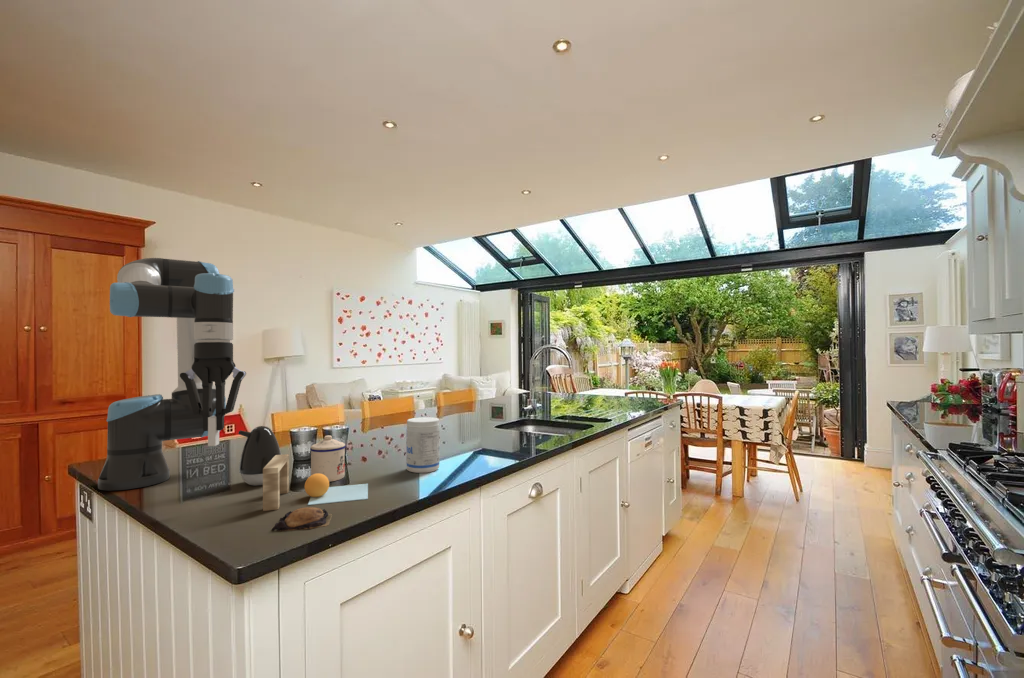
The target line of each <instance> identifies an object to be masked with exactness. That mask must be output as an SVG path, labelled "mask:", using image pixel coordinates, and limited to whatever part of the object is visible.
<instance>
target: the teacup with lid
mask: <svg viewBox="0 0 1024 678" xmlns="http://www.w3.org/2000/svg"><path fill="white" fill-rule="evenodd" d="M345 448H346V443H345V442H342V441H338V440H337V439H334V438H333V437H332V435H329V434H328V435H325V436H324V438H323V439H322V440H319V442H317V443H314V444H312V445H311V446H310V449H309V450H310V476H311V475H313V474H317V473H320V474H323V475H325V476H326V477H327V478H328V480H329V483H330V482H336V481H339V480H342V479H343V478H344V477H345V476H346V475H345V474H346V468H345V467H346V465H345V464H346V461H345V460H346V459H345V457H346V456H345V455H346V453H345V452H346V449H345Z"/></svg>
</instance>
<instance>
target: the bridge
mask: <svg viewBox="0 0 1024 678" xmlns="http://www.w3.org/2000/svg"><path fill="white" fill-rule="evenodd" d="M289 456H290V454H288V453H286V454H285V453H284V454H283V453H282V454H281V455H275V456H274V457H273V458H272V460H271V461H270V462H269V463H268V464H267V465H266V466H265V467H264V468H263V485H262V512H267V511H277V510H279V508H280V505H281V503H280V501H281V499H280V497H281V496H280V495H282V494H283V495H284V494H288V493H289V492H290V477H289V476H290V470H289V469H290V468H289V467H290V458H289Z"/></svg>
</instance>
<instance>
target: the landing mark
mask: <svg viewBox="0 0 1024 678" xmlns="http://www.w3.org/2000/svg"><path fill="white" fill-rule="evenodd" d="M368 499H369V483H362V484H361V483H360V484H359V483H358V484H347V485H338V486H336V485H335V486H329V488H328V490H327V492H326V493H325V494H324V495H322V496H320V497H311V496H310V498H309V501H308V503H307V506H313V505H315V506H316V505H325V504H334V503H342V502H343V503H345V502H354V501H355V502H356V501H363V500H365V501H366V500H368Z"/></svg>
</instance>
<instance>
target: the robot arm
mask: <svg viewBox="0 0 1024 678" xmlns="http://www.w3.org/2000/svg"><path fill="white" fill-rule="evenodd" d="M219 271H220V270H219V269H218V267H217V266H216V265H215V264H214V263H210V262H203V261H200V260H197V261H193V260H185V259H172V258H163V257H149V258H147V257H146V258H141V259H137V260H132V261H130V262H128V263H125V264H124V265H122V266H121V268H120V269H119V270H118V273H117V275H116V277H117V278H116V280H117V282H113V283H111V284H110V285H109V313H110V314H112V316H118V317H127V318H133V317H136V318H137V317H139V318H140V317H144V318H172V319H173V318H175V319H176V323H177V324H176V337H177V344H176V345H177V349H176V350H177V387H176V388H175V389H174V390H173V391H171V398H165V399H164V396H163V395H162V394H160V393H159V394H151V395H149V394H148V395H143V396H136V397H130V398H124V399H120V400H117V401H114V402H112V403H111V404H109V406H108V408H107V418H106V422H107V434H106V435H107V436H106V437H107V438H106V439H107V440H106V441H107V443H106V444H107V446H106V459H105V462H104V465H103V467H102V468H101V472H100V474H99V477H98V479H97V489H98V490H101V491H107V492H108V491H125V490H131V489H138V488H139V489H140V488H144V487H149V486H153V485H158V484H161V483H164V482H166V481H168V480H169V479H170V475H171V473H170V472H171V470H170V468H169V464H168V463H167V460H166V457H165V455H164V453H163V442H166V441H175V440H184V439H193V438H205V437H207V447H217V446H218V445H219V444H220V432H221V431H223V430H224V428H225V417H226V414H229V413H232V412H233V411H234V409H235V406H236V401H237V399H238V398H237V397H238V395H239V391H240V387H241V383H242V381H243V379H244V378H245V377H246V376H247V372H246V371H244V370H241V369H239V368H237V367H236V364H235V362H234V344H233V342H231V341H232V340H234V320H233V319H234V292H235V289H234V281H233V278H232V277H231V276H229V275H227V274H222V273H220V272H219ZM231 374H232V378H233V379H232V382H231V386H230V390H229V392H228V397H227V399H226V395H225V394H226V393H225V391H226V380H228V378H229V377H230V375H231Z"/></svg>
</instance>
